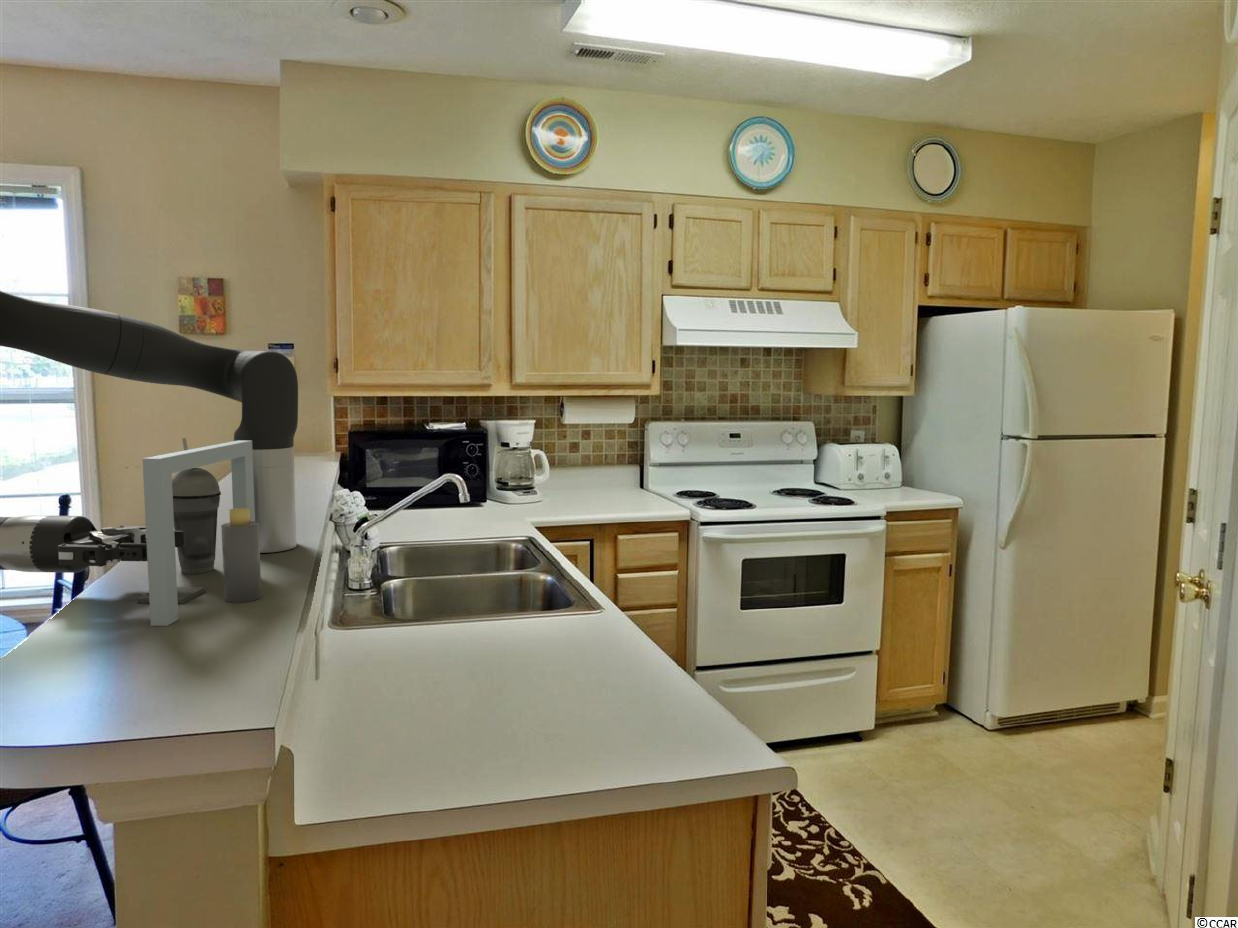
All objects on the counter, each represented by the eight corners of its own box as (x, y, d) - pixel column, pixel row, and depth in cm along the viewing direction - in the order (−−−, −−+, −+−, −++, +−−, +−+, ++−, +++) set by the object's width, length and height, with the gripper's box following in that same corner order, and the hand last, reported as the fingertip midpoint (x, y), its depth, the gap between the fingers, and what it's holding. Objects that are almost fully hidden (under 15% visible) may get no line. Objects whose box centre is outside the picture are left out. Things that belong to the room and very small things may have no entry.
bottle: (234, 593, 116) (230, 506, 114) (267, 593, 116) (263, 506, 114) (218, 602, 111) (214, 512, 110) (252, 602, 111) (248, 512, 110)
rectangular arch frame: (243, 574, 126) (238, 440, 124) (256, 574, 126) (252, 440, 124) (150, 625, 101) (142, 458, 99) (167, 625, 101) (159, 458, 99)
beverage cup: (209, 576, 125) (203, 440, 123) (160, 575, 125) (154, 439, 123) (232, 564, 132) (228, 436, 130) (186, 564, 132) (180, 435, 130)
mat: (161, 590, 117) (161, 586, 117) (205, 591, 117) (205, 587, 117) (137, 602, 111) (136, 598, 111) (183, 603, 111) (182, 598, 111)
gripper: (6, 525, 105) (136, 527, 105) (79, 507, 120) (194, 508, 120) (10, 585, 106) (139, 586, 106) (82, 559, 120) (196, 560, 120)
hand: (168, 545), depth 113 cm, fingers open, 8 cm apart
